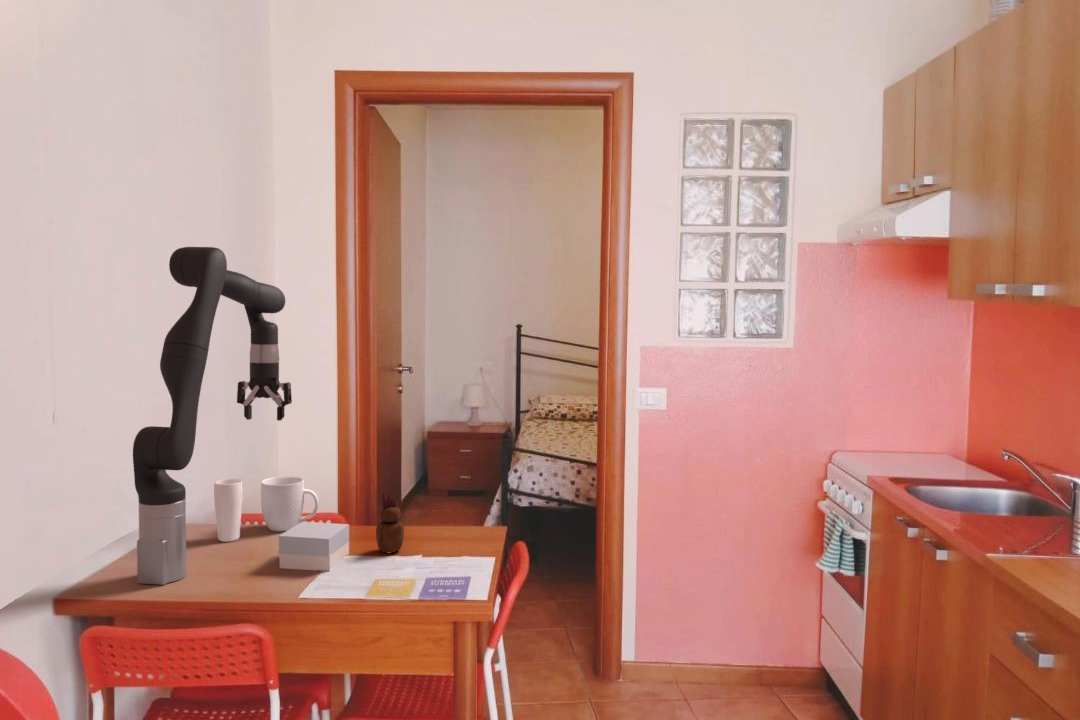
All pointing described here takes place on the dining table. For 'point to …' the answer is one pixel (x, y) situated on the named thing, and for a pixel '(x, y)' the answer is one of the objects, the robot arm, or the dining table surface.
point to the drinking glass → (228, 508)
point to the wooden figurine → (389, 527)
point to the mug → (284, 502)
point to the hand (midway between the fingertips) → (264, 419)
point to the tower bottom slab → (313, 560)
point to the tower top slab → (314, 538)
